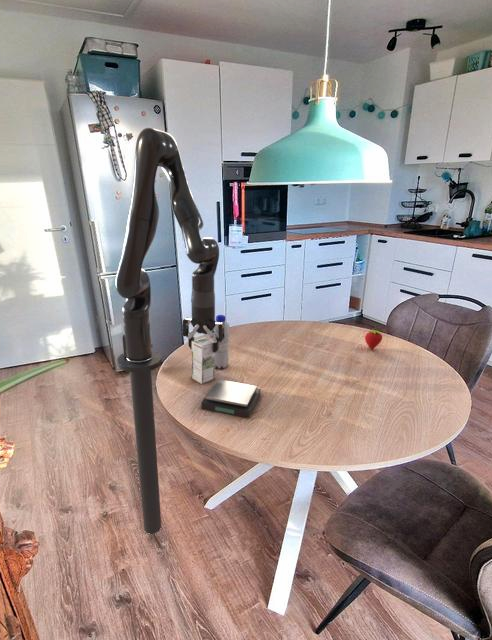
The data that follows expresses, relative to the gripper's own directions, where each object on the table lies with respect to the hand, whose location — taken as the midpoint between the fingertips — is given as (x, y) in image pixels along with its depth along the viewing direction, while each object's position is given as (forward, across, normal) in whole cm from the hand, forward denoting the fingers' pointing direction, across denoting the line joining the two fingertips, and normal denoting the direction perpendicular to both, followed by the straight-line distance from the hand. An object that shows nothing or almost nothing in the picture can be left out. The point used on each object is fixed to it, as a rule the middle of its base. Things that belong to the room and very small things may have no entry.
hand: (203, 350), depth 130 cm
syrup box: (+11, 0, 0) cm, 11 cm away
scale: (+11, -14, +11) cm, 21 cm away
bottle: (+11, -2, -12) cm, 17 cm away
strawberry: (+12, -57, -51) cm, 77 cm away
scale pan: (+8, -14, +11) cm, 20 cm away
